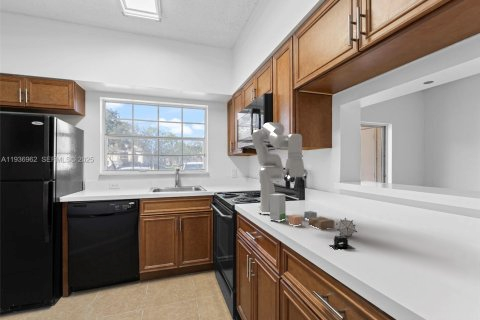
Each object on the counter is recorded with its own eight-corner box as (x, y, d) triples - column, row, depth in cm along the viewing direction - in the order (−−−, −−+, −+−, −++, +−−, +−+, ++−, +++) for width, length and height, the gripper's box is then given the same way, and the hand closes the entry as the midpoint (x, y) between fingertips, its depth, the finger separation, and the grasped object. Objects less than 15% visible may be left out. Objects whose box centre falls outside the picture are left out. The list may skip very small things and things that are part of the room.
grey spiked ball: (344, 245, 103) (332, 228, 102) (341, 233, 111) (330, 217, 110) (363, 238, 99) (351, 220, 98) (359, 226, 107) (348, 210, 106)
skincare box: (279, 222, 130) (279, 195, 130) (269, 220, 134) (269, 194, 134) (286, 220, 136) (286, 193, 137) (276, 218, 140) (276, 193, 141)
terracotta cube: (288, 224, 125) (288, 215, 125) (295, 223, 127) (295, 214, 128) (294, 227, 121) (294, 217, 121) (301, 225, 123) (301, 216, 123)
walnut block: (308, 226, 123) (308, 218, 123) (321, 224, 126) (321, 216, 127) (320, 230, 115) (320, 221, 115) (334, 228, 118) (334, 220, 118)
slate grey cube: (304, 220, 137) (304, 211, 137) (310, 219, 139) (310, 211, 139) (310, 221, 132) (310, 213, 133) (316, 221, 135) (316, 212, 135)
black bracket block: (349, 244, 95) (349, 233, 95) (361, 250, 88) (361, 239, 88) (321, 246, 93) (321, 234, 93) (331, 252, 86) (331, 240, 86)
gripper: (302, 157, 133) (302, 186, 132) (277, 156, 125) (277, 187, 124) (311, 156, 126) (311, 187, 125) (286, 155, 118) (286, 189, 118)
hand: (294, 187), depth 125 cm, fingers open, 9 cm apart
